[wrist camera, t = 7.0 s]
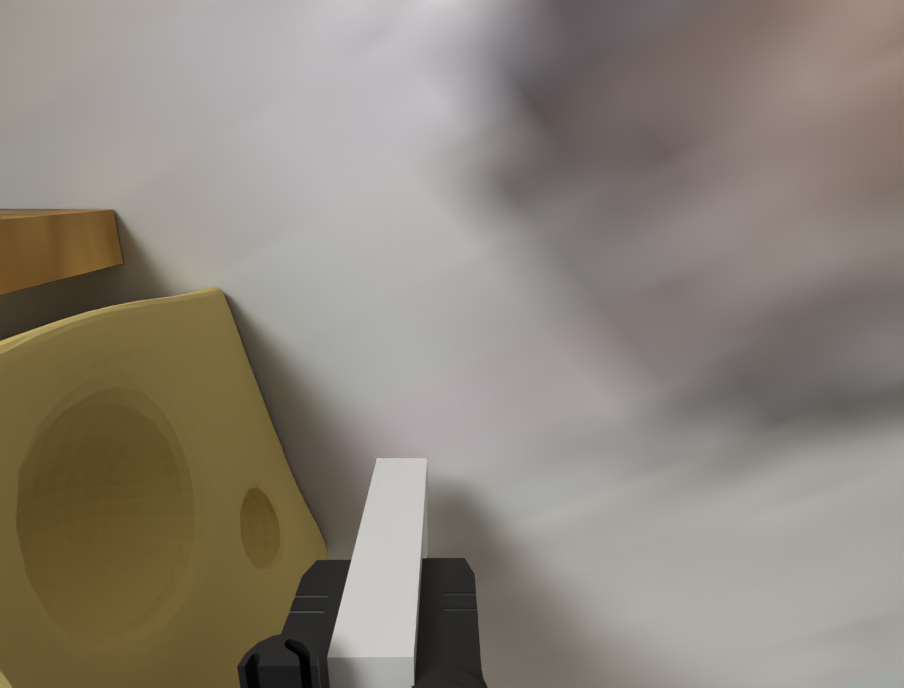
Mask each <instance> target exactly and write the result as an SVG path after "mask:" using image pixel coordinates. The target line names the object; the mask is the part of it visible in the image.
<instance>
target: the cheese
mask: <svg viewBox="0 0 904 688" xmlns="http://www.w3.org/2000/svg"><path fill="white" fill-rule="evenodd" d="M316 560H327V549H326V545H325V542H324V539H323V537H322V534H321V532H320V530H319V528H318V526H317V524H316V522H315V520H314V518H313V516H312V514H311V512H310V510H309V508H308V507H307V505H306V503H305V501H304V499H303V497H302V495H301V493H300V491H299V489H298V486H297V484H296V482H295V479H294V477H293V475H292V472H291V470H290V467H289V465H288V463H287V460H286V458H285V455H284V452H283V449H282V446H281V444H280V441H279V439H278V436H277V434H276V432H275V429H274V427H273V424H272V422H271V419H270V416H269V414H268V411H267V408H266V406H265V403H264V400H263V398H262V395H261V393H260V390H259V387H258V385H257V382H256V379H255V377H254V374H253V371H252V369H251V366H250V364H249V361H248V358H247V355H246V352H245V350H244V347H243V344H242V341H241V338H240V336H239V333H238V330H237V327H236V324H235V321H234V319H233V316H232V313H231V311H230V308H229V306H228V303H227V301H226V298H225V296H224V293H223V292H222V290H220V289H219V288H206V289H202V290H197V291H193V292H188V293H184V294H180V295H175V296H170V297H163V298H155V299H148V300H141V301H134V302H129V303H124V304H119V305H113V306H109V307H105V308H101V309H97V310H92V311H88V312H85V313H82V314H78V315H75V316H72V317H69V318H65V319H62V320H59V321H56V322H53V323H50V324H47V325H44V326H41V327H38V328H36V329H33V330H30V331H27V332H23V333H19V334H16V335H12V336H8V337H5V338H1V339H0V688H240V682H239V676H238V669H237V666H238V664H239V663H240V661H241V659H242V658H243V656H244V655H245V653H246V652H248V651H249V650H250V649H251V648H252V647H254V646H255V645H256V644H257V643H258V642H260V641H262V640H265V639H267V638H269V637H271V636H273V635H279V634H281V633H282V630H283V627H284V624H285V622H286V619H287V616H288V614H289V613H290V608H291V605H292V602H293V600H294V598H295V594H296V591H297V589H298V586H299V583H300V580H301V578H302V576H303V575H304V573H305V572H306V571H307V570H308V569H309V568H310V567H311V566H312V565H313V564H314V563H315V561H316Z"/></svg>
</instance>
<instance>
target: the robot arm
mask: <svg viewBox="0 0 904 688" xmlns="http://www.w3.org/2000/svg"><path fill="white" fill-rule="evenodd" d="M427 549H428V482H427V458H377V460H376V464H375V468H374V472H373V476H372V480H371V484H370V488H369V492H368V496H367V500H366V504H365V508H364V512H363V516H362V520H361V524H360V528H359V532H358V536H357V540H356V544H355V548H354V552H353V556H352V560H316V561H315V563H314V564H313V565H312V566H311V567H310V568H309V569H308V570H307V571H306V572H305V573H304V575H303V576H302V578H301V580H300V583H299V586H298V589H297V591H296V594H295V598H294V600H293V602H292V605H291V608H290V613H289V614H288V616H287V619H286V622H285V624H284V627H283V630H282V633H281V634H279V635H273V636H271V637H269V638H267V639H265V640H262V641H260V642H258V643H257V644H256V645H255V646H254V647H252V648H251V649H250V650H249V651H248V652H246V653H245V655H244V656H243V658H242V659H241V661H240V663H239V664H238V666H237V669H238V676H239V682H240V688H487V686H486V684H485V682H484V679H483V675H482V670H481V658H480V644H479V630H478V616H477V602H476V588H475V575H474V573H473V571H472V569H471V568H470V566H469V565H468V563H467V561H466V560H465V558H427Z"/></svg>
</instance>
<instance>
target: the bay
mask: <svg viewBox="0 0 904 688" xmlns="http://www.w3.org/2000/svg"><path fill="white" fill-rule="evenodd" d="M119 264H123V259H122V254H121V248H120V242H119V237H118V231H117V226H116V220H115V215H114V210H80V209H0V295H1V294H5V293H9V292H13V291H17V290H21V289H25V288H28V287H32V286H36V285H40V284H44V283H48V282H52V281H56V280H60V279H64V278H68V277H72V276H76V275H80V274H84V273H88V272H92V271H96V270H100V269H103V268H107V267H111V266H115V265H119Z"/></svg>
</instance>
